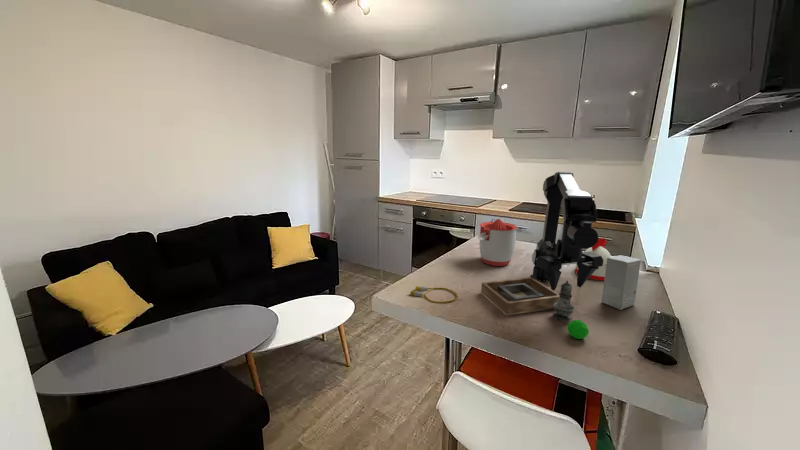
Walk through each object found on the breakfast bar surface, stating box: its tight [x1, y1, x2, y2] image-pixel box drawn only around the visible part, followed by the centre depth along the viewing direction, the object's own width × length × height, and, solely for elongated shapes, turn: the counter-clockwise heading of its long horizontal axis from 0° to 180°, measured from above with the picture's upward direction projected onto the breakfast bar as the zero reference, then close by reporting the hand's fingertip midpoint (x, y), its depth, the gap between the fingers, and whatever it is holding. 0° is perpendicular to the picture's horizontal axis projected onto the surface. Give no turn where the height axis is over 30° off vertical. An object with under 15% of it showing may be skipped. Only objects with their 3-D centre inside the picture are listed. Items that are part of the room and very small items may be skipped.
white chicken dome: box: [574, 237, 612, 281], centre depth 130 cm, size 14×14×15 cm
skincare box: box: [601, 254, 642, 311], centre depth 104 cm, size 8×7×16 cm
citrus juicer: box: [477, 218, 518, 267], centre depth 142 cm, size 16×17×20 cm
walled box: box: [480, 276, 560, 316], centre depth 108 cm, size 20×16×4 cm
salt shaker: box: [552, 279, 576, 323], centre depth 96 cm, size 6×6×12 cm
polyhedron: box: [566, 319, 590, 340], centre depth 87 cm, size 5×5×5 cm
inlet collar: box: [498, 283, 544, 302], centre depth 108 cm, size 10×10×3 cm
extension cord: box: [410, 285, 459, 304], centre depth 112 cm, size 12×16×2 cm
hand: (566, 288), depth 95 cm, fingers open, 9 cm apart
